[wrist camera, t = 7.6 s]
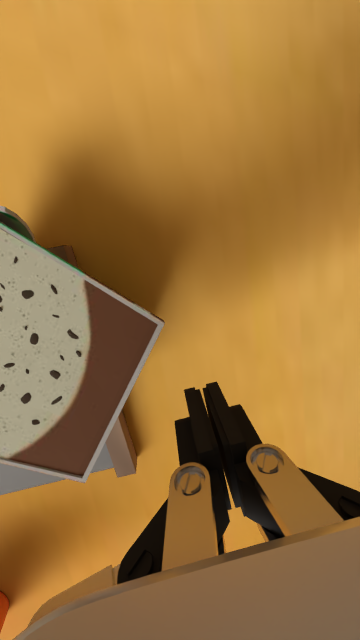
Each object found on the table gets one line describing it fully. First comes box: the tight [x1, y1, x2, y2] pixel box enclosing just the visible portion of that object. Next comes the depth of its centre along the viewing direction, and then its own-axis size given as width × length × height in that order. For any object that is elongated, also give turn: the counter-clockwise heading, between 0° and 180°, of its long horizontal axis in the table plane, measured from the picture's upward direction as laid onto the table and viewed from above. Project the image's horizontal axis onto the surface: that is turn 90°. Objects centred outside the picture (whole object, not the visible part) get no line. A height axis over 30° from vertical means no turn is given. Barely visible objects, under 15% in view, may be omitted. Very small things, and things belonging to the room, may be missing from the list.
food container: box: [0, 206, 165, 483], centre depth 14 cm, size 12×6×10 cm
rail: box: [46, 246, 137, 477], centre depth 18 cm, size 2×18×2 cm, turn 11°
